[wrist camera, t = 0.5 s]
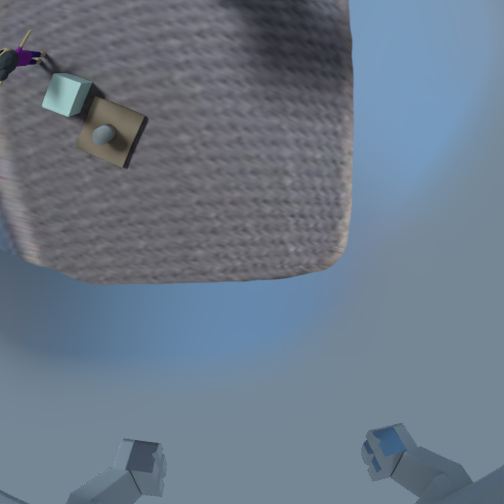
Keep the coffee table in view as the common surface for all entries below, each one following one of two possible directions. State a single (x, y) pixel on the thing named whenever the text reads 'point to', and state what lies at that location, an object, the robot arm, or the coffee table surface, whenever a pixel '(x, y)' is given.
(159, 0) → the coffee table surface
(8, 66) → the toy
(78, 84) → the pale aqua cube
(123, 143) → the stand
